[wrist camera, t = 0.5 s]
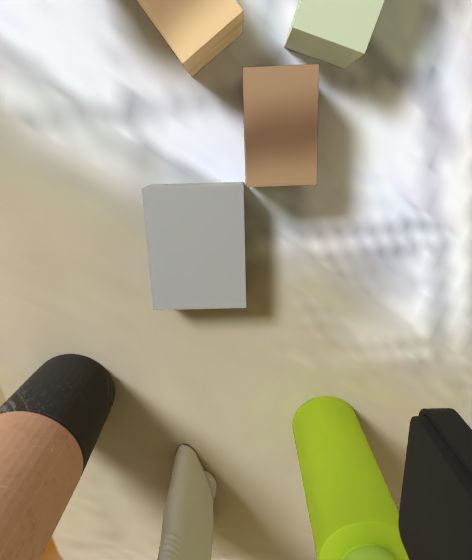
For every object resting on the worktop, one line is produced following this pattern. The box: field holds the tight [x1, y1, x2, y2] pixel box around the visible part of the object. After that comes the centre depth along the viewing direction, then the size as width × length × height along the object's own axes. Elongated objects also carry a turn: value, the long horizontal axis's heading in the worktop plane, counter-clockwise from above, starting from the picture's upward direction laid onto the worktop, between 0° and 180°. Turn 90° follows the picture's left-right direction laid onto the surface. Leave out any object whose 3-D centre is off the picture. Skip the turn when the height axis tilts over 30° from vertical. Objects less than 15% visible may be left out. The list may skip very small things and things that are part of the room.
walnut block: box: [242, 64, 319, 187], centre depth 28 cm, size 7×4×5 cm, turn 2°
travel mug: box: [0, 354, 114, 560], centre depth 27 cm, size 8×8×20 cm
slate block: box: [142, 182, 246, 310], centre depth 31 cm, size 9×7×4 cm
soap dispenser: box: [292, 397, 409, 560], centre depth 28 cm, size 6×7×20 cm
